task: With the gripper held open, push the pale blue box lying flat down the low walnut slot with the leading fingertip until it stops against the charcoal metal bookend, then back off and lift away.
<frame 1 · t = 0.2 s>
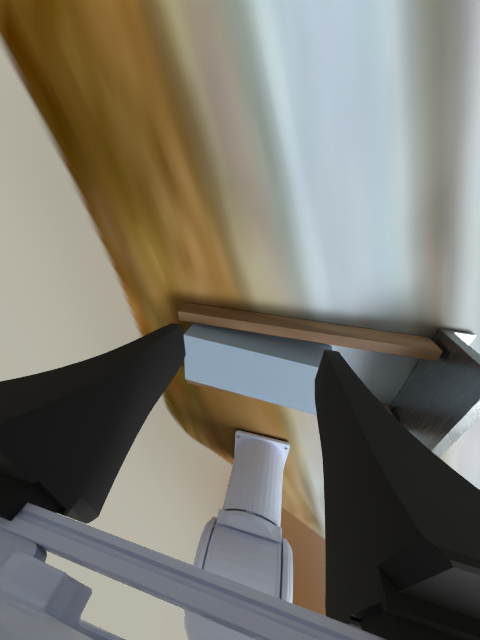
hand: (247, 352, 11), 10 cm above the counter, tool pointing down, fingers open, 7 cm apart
shelf walls: (288, 358, 23), on the counter
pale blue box: (258, 350, 24), on the counter
bookend: (411, 379, 20), on the counter
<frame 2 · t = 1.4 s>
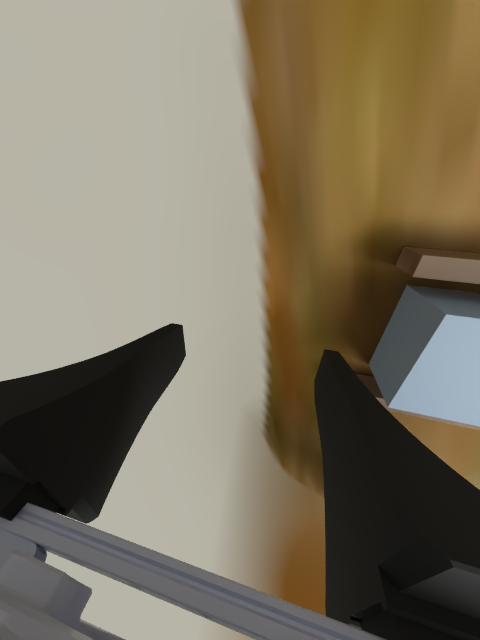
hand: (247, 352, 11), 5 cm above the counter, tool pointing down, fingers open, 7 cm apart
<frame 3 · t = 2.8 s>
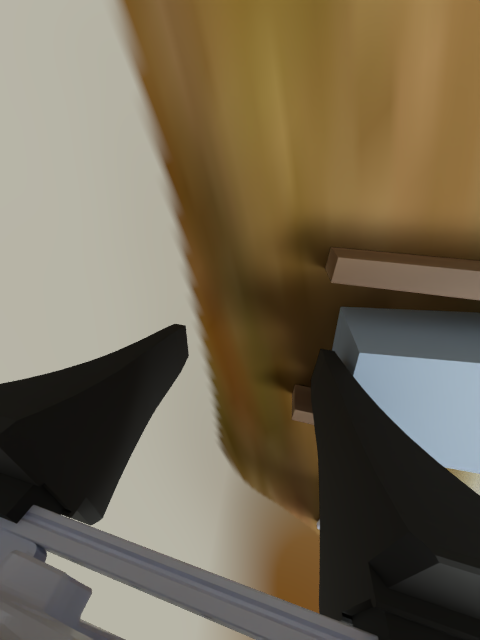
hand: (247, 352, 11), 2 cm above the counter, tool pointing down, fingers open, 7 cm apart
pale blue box: (475, 363, 11), on the counter, touching gripper
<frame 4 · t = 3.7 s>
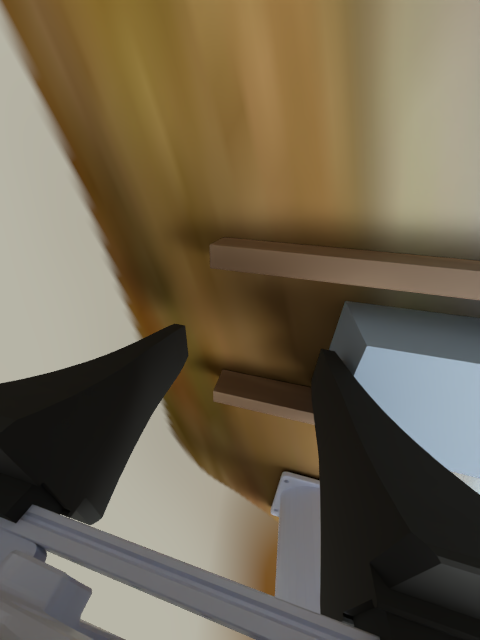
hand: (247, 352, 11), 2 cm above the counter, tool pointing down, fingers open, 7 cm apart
shelf walls: (428, 356, 11), on the counter
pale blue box: (467, 368, 11), on the counter, touching gripper
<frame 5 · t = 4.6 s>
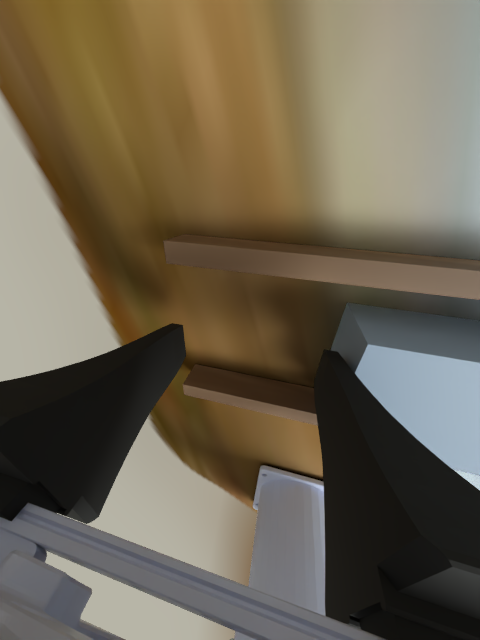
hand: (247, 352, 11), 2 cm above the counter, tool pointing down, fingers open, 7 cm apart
shelf walls: (384, 348, 11), on the counter
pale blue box: (464, 368, 11), on the counter
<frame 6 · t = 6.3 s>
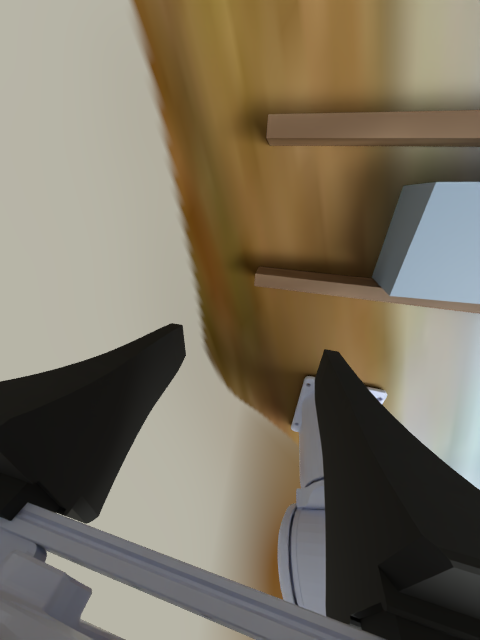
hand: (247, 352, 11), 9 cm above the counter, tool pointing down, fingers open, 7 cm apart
shelf walls: (434, 224, 14), on the counter
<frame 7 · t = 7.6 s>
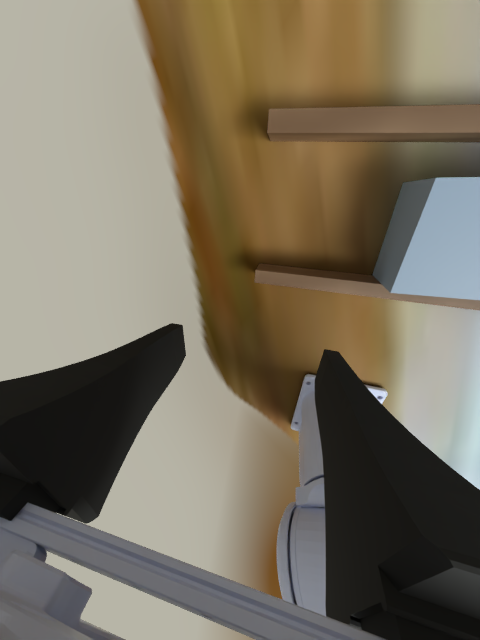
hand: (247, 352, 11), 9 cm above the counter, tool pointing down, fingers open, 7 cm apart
shelf walls: (435, 220, 14), on the counter
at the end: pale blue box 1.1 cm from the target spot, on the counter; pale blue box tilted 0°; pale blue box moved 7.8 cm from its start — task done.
